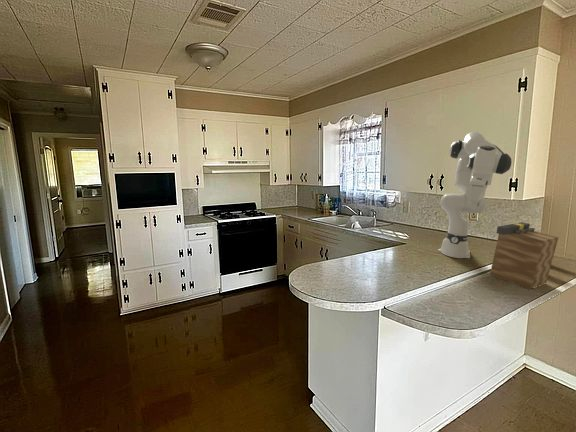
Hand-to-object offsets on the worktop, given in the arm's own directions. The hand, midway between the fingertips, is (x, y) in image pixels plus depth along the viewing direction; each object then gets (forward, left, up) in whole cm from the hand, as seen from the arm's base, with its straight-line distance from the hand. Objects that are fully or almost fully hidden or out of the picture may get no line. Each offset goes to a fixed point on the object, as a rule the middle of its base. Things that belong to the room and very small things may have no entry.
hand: (475, 208), depth 159 cm
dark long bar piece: (-21, +16, -13) cm, 30 cm away
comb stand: (-24, +23, -39) cm, 51 cm away
